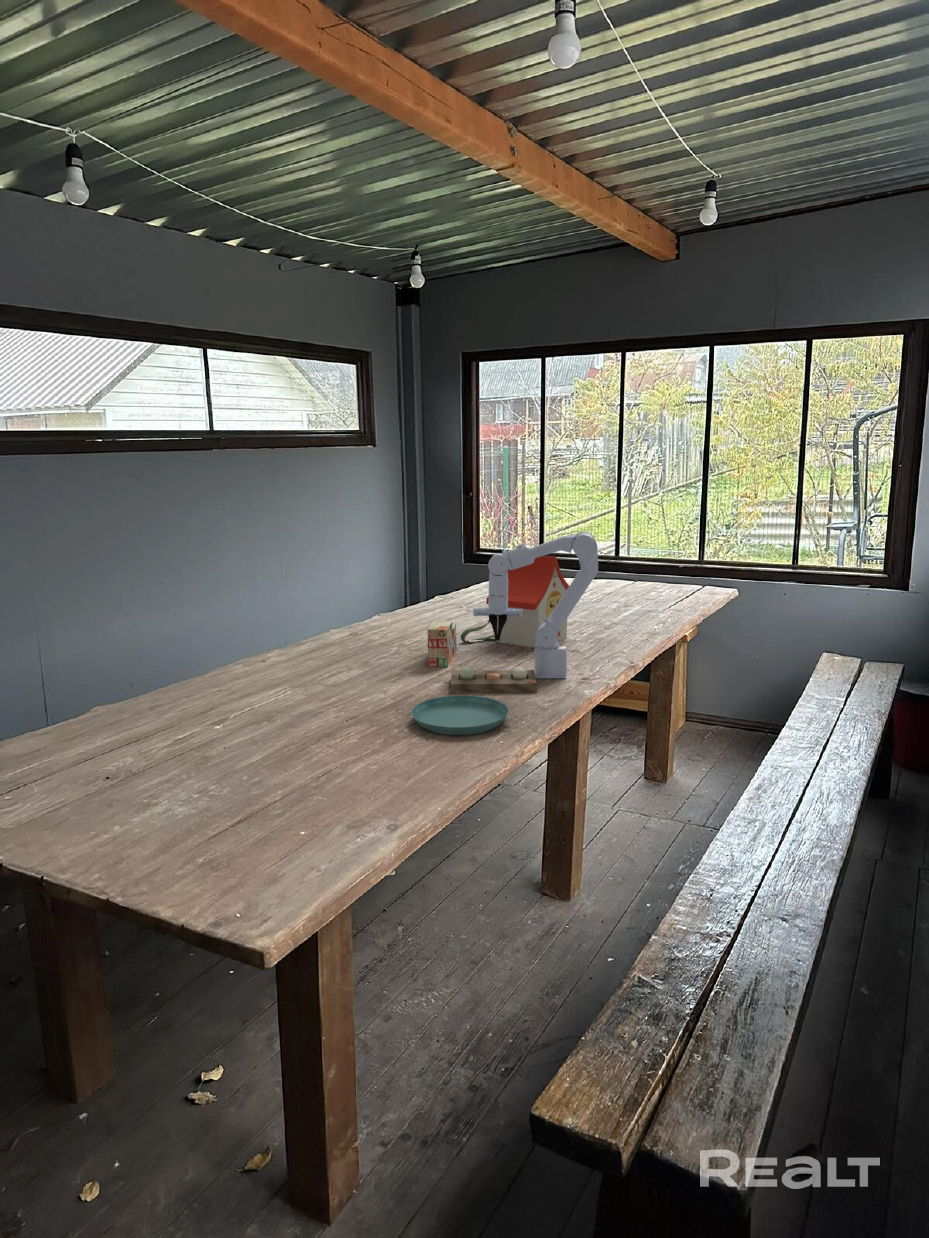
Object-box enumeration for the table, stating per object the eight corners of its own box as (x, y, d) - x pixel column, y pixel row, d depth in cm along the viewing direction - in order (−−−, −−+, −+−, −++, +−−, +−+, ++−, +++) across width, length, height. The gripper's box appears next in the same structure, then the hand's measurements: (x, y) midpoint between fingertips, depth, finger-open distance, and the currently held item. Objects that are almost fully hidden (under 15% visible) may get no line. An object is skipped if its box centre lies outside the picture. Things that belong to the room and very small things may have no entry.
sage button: (474, 677, 242) (473, 667, 241) (474, 681, 238) (474, 671, 237) (460, 677, 242) (460, 667, 241) (459, 681, 238) (459, 671, 237)
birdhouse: (532, 655, 273) (533, 563, 267) (458, 643, 290) (457, 557, 284) (583, 634, 302) (584, 551, 296) (512, 624, 319) (512, 545, 312)
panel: (533, 678, 247) (533, 669, 246) (537, 692, 233) (537, 682, 233) (452, 678, 247) (451, 669, 247) (450, 692, 234) (450, 683, 233)
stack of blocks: (438, 650, 281) (437, 614, 279) (456, 650, 281) (456, 614, 278) (427, 667, 261) (427, 628, 258) (448, 667, 260) (447, 628, 257)
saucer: (399, 714, 217) (398, 701, 216) (485, 702, 225) (485, 690, 225) (430, 745, 195) (430, 731, 194) (525, 730, 204) (525, 717, 203)
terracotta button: (500, 682, 242) (500, 672, 241) (500, 686, 238) (500, 676, 238) (486, 682, 242) (486, 672, 242) (486, 686, 238) (486, 676, 238)
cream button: (526, 677, 242) (526, 667, 241) (527, 681, 238) (527, 671, 237) (512, 677, 242) (512, 667, 241) (513, 681, 238) (513, 671, 237)
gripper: (473, 597, 243) (472, 642, 246) (523, 597, 243) (522, 643, 246) (473, 592, 250) (472, 637, 253) (522, 593, 250) (521, 637, 253)
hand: (497, 639), depth 250 cm, fingers closed
